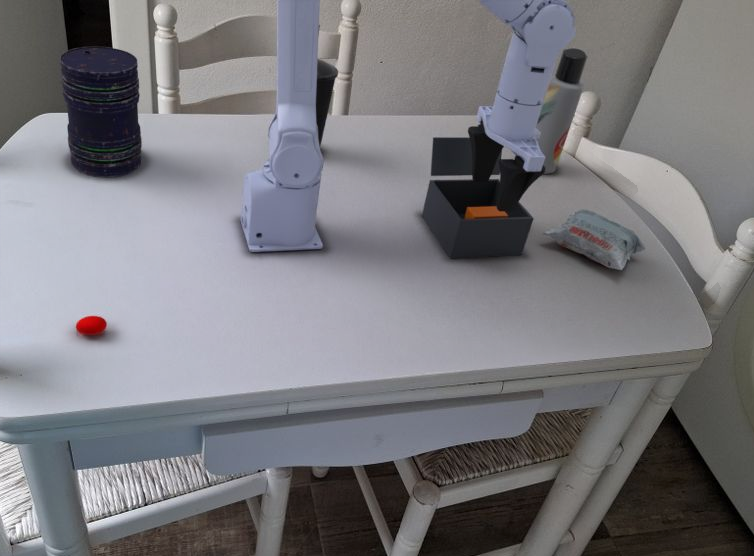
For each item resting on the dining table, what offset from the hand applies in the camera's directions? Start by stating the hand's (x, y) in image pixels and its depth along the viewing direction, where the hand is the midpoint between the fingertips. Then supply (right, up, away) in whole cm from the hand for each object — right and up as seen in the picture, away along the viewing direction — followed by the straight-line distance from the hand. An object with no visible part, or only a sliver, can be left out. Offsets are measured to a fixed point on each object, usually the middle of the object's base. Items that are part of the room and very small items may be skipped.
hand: (491, 194), depth 93 cm
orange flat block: (-1, -6, +4) cm, 8 cm away
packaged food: (+15, -8, +7) cm, 18 cm away
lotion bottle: (+13, +8, +28) cm, 32 cm away
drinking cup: (-26, +9, +21) cm, 35 cm away
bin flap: (-2, +6, +6) cm, 9 cm away
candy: (-45, -17, -20) cm, 52 cm away
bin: (-2, -5, +6) cm, 8 cm away
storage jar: (-54, +6, +9) cm, 55 cm away
